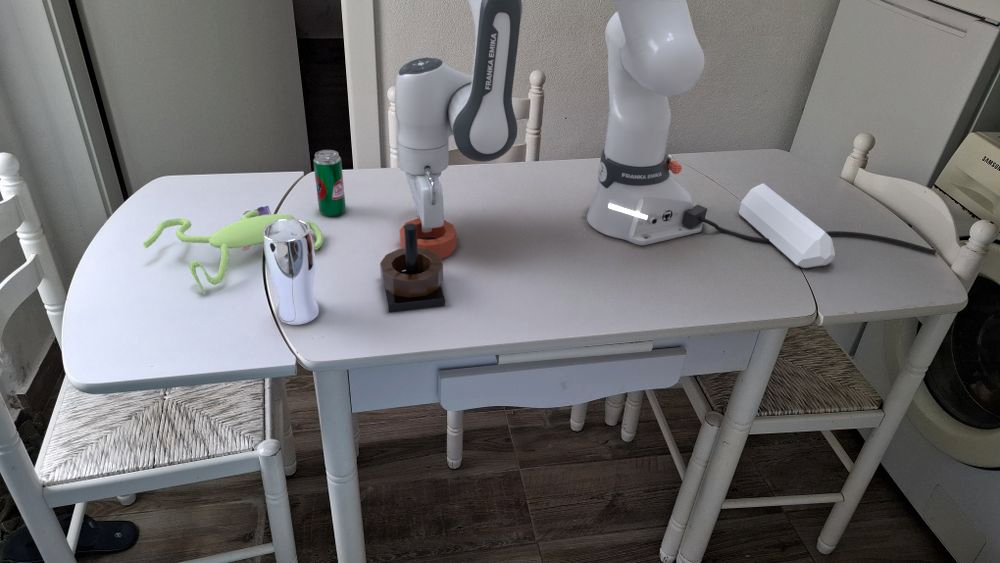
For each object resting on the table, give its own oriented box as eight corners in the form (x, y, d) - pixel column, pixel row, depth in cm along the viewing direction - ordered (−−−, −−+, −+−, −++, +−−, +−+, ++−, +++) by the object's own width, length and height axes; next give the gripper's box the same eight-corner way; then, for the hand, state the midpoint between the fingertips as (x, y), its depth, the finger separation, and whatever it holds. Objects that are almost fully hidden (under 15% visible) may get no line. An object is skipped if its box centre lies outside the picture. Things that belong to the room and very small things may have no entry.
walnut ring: (435, 260, 118) (434, 244, 116) (448, 292, 110) (448, 276, 108) (377, 267, 115) (376, 251, 113) (387, 301, 107) (386, 284, 106)
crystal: (854, 251, 122) (776, 190, 141) (830, 236, 118) (754, 176, 137) (825, 283, 124) (753, 219, 143) (801, 270, 121) (730, 206, 140)
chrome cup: (280, 300, 109) (266, 217, 100) (324, 299, 109) (314, 217, 101) (271, 327, 103) (256, 242, 95) (318, 326, 104) (307, 242, 95)
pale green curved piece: (141, 254, 118) (132, 225, 115) (283, 208, 133) (279, 182, 130) (184, 303, 107) (176, 273, 104) (333, 246, 123) (330, 219, 119)
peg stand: (435, 275, 117) (434, 210, 110) (445, 305, 110) (444, 238, 102) (381, 280, 115) (377, 215, 108) (388, 312, 107) (384, 244, 100)
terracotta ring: (449, 230, 129) (449, 215, 128) (460, 257, 122) (460, 242, 120) (397, 235, 127) (396, 219, 125) (405, 263, 119) (404, 247, 117)
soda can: (340, 219, 131) (334, 161, 124) (315, 216, 132) (307, 158, 125) (350, 207, 135) (344, 150, 128) (325, 204, 136) (319, 147, 129)
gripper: (452, 180, 111) (452, 252, 119) (430, 132, 127) (432, 198, 135) (414, 183, 110) (416, 256, 117) (396, 134, 126) (400, 201, 134)
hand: (424, 225), depth 126 cm, fingers closed
